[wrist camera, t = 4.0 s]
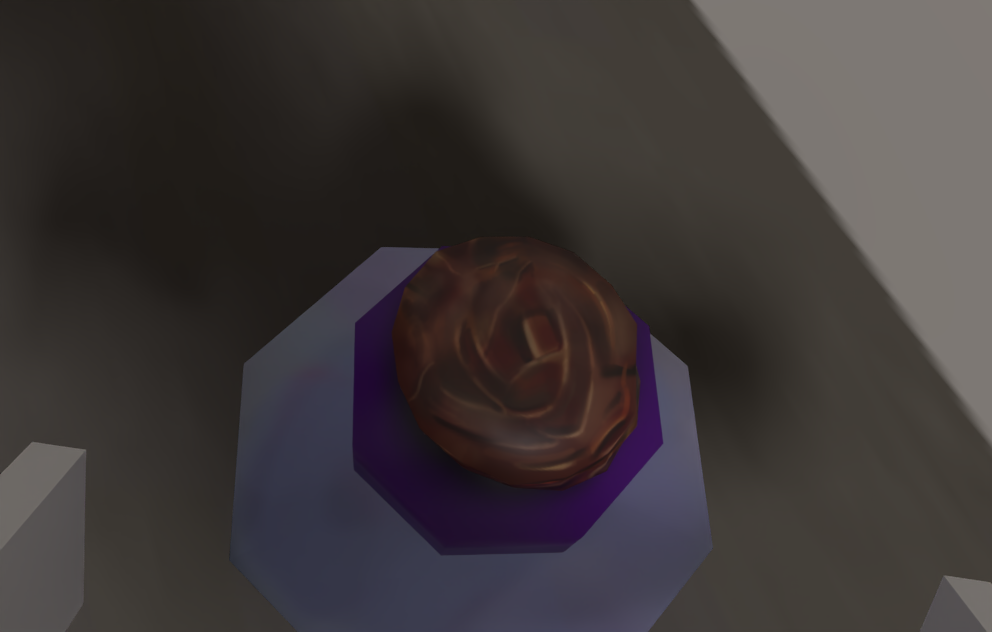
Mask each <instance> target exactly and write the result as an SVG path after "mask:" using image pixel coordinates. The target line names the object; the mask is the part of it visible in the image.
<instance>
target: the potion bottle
mask: <svg viewBox="0 0 992 632" xmlns="http://www.w3.org/2000/svg"><path fill="white" fill-rule="evenodd" d="M712 549H713V546H712V539H711V531H710V524H709V517H708V509H707V502H706V495H705V488H704V480H703V473H702V466H701V459H700V451H699V444H698V437H697V430H696V422H695V415H694V408H693V401H692V393H691V386H690V379H689V372H688V366H687V365H686V364H685V363H684V362H682V361H681V360H680V359H679V358H678V357H677V356H675V355H674V354H673V353H672V352H671V351H670V350H669V349H667V348H666V347H665V346H664V345H663V344H662V343H660V342H659V341H658V340H657V339H656V338H655V337H654V336H652V335H651V334H650V329H649V326H648V325H647V324H646V323H645V322H644V321H642V320H641V319H640V318H639V317H638V316H637V315H635V314H634V313H633V312H632V311H631V310H630V309H629V308H627V307H626V306H625V305H624V303H623V302H622V300H621V299H620V297H619V296H618V294H617V292H616V291H615V289H614V288H613V286H612V285H611V284H610V283H609V282H607V281H606V280H605V279H604V278H603V277H602V276H600V275H599V274H598V273H597V272H596V271H595V270H593V269H592V268H591V267H590V266H589V265H588V264H587V263H585V262H584V261H583V260H582V259H581V258H580V257H578V256H577V255H576V254H575V253H574V252H571V251H568V250H566V249H563V248H560V247H557V246H554V245H551V244H548V243H546V242H543V241H540V240H537V239H534V238H531V237H479V238H476V239H473V240H470V241H467V242H464V243H460V244H457V245H454V246H442V247H441V248H400V247H381V248H380V249H378V250H377V251H376V252H375V253H374V254H372V255H371V256H370V257H369V258H368V259H367V260H365V261H364V262H363V263H362V264H361V265H360V266H358V267H357V268H356V269H355V270H354V271H352V272H351V273H350V274H349V275H348V276H347V277H345V278H344V279H343V280H342V281H341V282H340V283H338V284H337V285H336V286H335V287H334V288H332V289H331V290H330V291H329V292H328V293H327V294H325V295H324V296H323V297H322V298H321V299H320V300H318V301H317V302H316V303H315V304H314V305H312V306H311V307H310V308H309V309H308V310H307V311H305V312H304V313H303V314H302V315H301V316H299V317H298V318H297V319H296V320H295V321H294V322H292V323H291V324H290V325H289V326H288V327H287V328H285V329H284V330H283V331H282V332H281V333H279V334H278V335H277V336H276V337H275V338H274V339H272V340H271V341H270V342H269V343H268V344H267V345H265V346H264V347H263V348H262V349H261V350H259V351H258V352H257V353H256V354H255V355H254V356H252V357H251V358H250V359H249V360H248V361H247V362H245V363H244V367H243V381H242V394H241V408H240V422H239V435H238V449H237V463H236V476H235V490H234V504H233V517H232V531H231V545H230V558H229V560H230V561H231V563H232V564H233V565H234V566H235V567H236V568H237V569H238V570H239V571H240V572H241V573H242V574H243V575H244V576H245V577H246V578H247V579H248V580H249V581H250V582H251V583H252V584H253V586H254V587H255V588H256V589H257V590H258V591H259V592H260V593H261V594H262V595H263V596H264V597H265V598H266V599H267V600H268V601H269V602H270V603H271V604H272V605H273V606H274V607H275V609H276V610H277V611H278V612H279V613H280V614H281V615H282V616H283V617H284V618H285V619H286V620H287V621H288V622H289V623H290V624H291V625H292V626H293V627H294V628H295V629H296V630H297V632H648V631H649V629H650V628H651V627H652V626H653V624H654V623H655V622H656V621H657V619H658V618H659V617H660V615H661V614H662V613H663V612H664V610H665V609H666V608H667V606H668V605H669V604H670V603H671V601H672V600H673V599H674V598H675V596H676V595H677V594H678V592H679V591H680V590H681V589H682V587H683V586H684V585H685V583H686V582H687V581H688V580H689V578H690V577H691V576H692V574H693V573H694V572H695V571H696V569H697V568H698V567H699V566H700V564H701V563H702V562H703V560H704V559H705V558H706V557H707V555H708V554H709V553H710V551H711V550H712Z"/></svg>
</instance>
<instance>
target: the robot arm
mask: <svg viewBox="0 0 992 632" xmlns="http://www.w3.org/2000/svg"><path fill="white" fill-rule="evenodd" d="M85 485H86V450H84V449H77V448H70V447H64V446H57V445H50V444H43V443H36V442H32V443H31V444H30V445H29V446H28V447H27V448H26V449H25V450H24V451H23V452H22V453H21V454H20V455H19V456H18V457H17V458H16V459H15V460H14V461H13V462H12V463H11V464H10V465H9V466H8V467H7V468H6V469H5V470H4V471H3V472H2V473H1V474H0V632H65V631H66V630H67V628H68V627H69V625H70V624H71V622H72V620H73V619H74V617H75V616H76V614H77V613H78V611H79V610H80V608H81V607H82V605H83V601H84V543H85ZM920 632H992V584H991V583H990V582H985V581H978V580H971V579H964V578H957V577H951V576H943V578H942V581H941V583H940V585H939V588H938V590H937V592H936V595H935V597H934V599H933V602H932V604H931V607H930V609H929V611H928V614H927V616H926V618H925V621H924V623H923V625H922V628H921V630H920Z"/></svg>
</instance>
